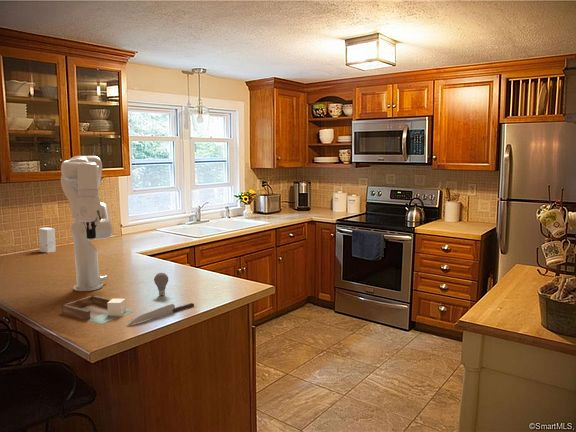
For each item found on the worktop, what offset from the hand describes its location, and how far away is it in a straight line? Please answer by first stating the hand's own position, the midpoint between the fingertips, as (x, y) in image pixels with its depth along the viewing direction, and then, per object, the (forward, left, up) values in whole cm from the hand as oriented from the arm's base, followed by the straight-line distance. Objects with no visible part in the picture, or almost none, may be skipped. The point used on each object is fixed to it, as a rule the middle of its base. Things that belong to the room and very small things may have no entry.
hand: (91, 238), depth 194 cm
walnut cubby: (+10, +14, -27) cm, 32 cm away
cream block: (+7, +22, -26) cm, 35 cm away
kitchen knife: (-1, +37, -28) cm, 46 cm away
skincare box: (-52, -110, -27) cm, 125 cm away
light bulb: (-20, +18, -27) cm, 38 cm away
